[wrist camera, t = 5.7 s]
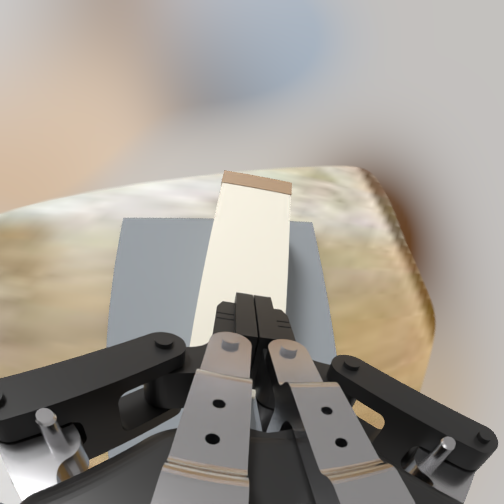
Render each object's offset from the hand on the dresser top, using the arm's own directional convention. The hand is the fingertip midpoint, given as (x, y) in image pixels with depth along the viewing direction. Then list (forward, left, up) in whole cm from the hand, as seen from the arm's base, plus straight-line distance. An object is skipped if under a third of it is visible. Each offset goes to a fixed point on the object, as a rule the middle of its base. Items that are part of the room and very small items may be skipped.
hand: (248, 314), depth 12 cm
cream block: (-1, -3, -6) cm, 7 cm away
